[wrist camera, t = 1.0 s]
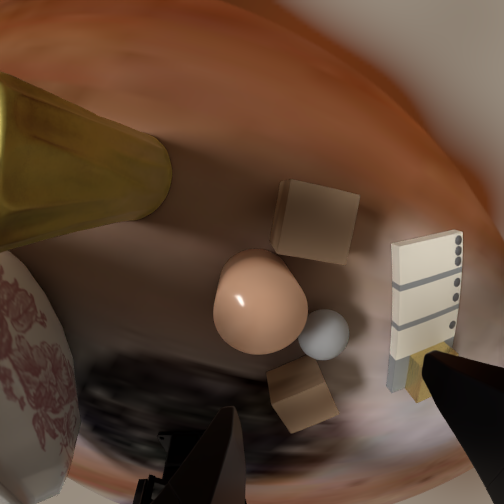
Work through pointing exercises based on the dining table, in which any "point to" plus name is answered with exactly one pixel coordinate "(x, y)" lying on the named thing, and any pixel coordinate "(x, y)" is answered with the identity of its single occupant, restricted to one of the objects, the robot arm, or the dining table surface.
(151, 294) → the dining table surface
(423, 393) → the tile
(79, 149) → the vase
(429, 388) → the robot arm
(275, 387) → the walnut cube
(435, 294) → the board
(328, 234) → the walnut cube
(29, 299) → the chamber pot
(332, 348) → the grey ball
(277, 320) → the peach rounded capsule
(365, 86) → the dining table surface
